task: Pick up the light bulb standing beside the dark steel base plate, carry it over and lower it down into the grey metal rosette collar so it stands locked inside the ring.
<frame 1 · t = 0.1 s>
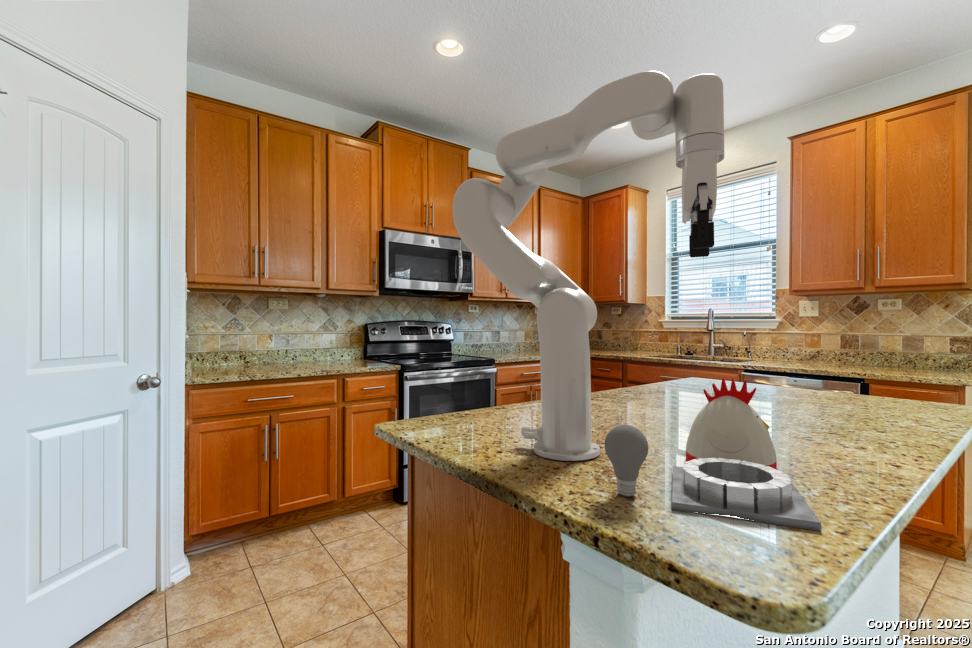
hand: (701, 252, 75), 37 cm above the countertop, tool pointing down, fingers open, 9 cm apart
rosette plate: (734, 496, 61), on the countertop
kitchen timer: (729, 464, 77), on the countertop
light bulb: (626, 496, 63), on the countertop
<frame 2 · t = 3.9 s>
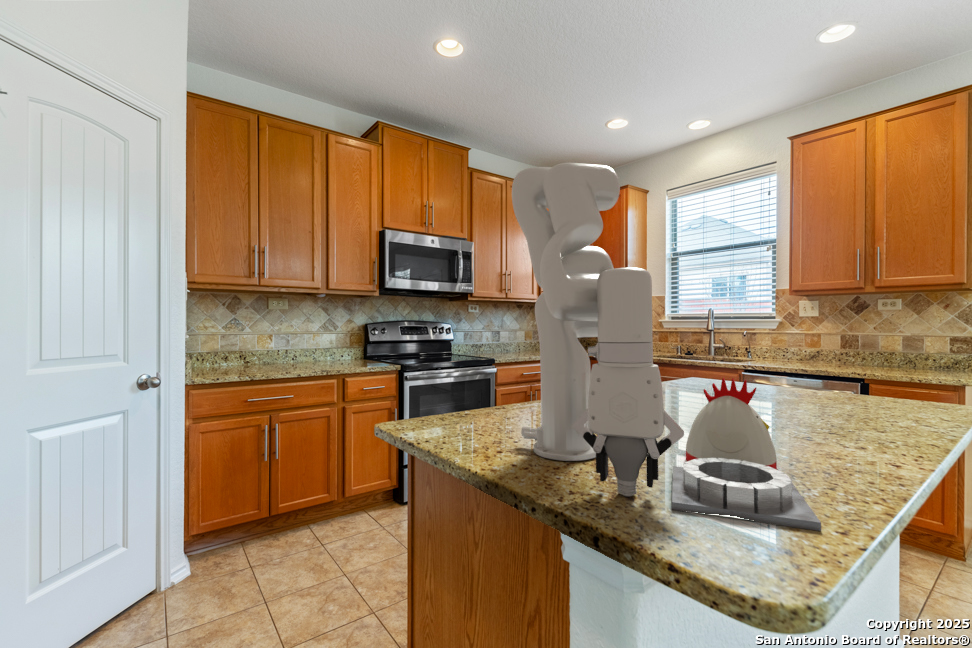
hand: (626, 480, 63), 2 cm above the countertop, tool pointing down, fingers closed on light bulb, 5 cm apart
light bulb: (626, 496, 62), on the countertop, touching gripper
everything else where it was.
when the fingers open (4 cm above the countertop, at t = 10.2 s): light bulb stays where it is, resting on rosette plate.
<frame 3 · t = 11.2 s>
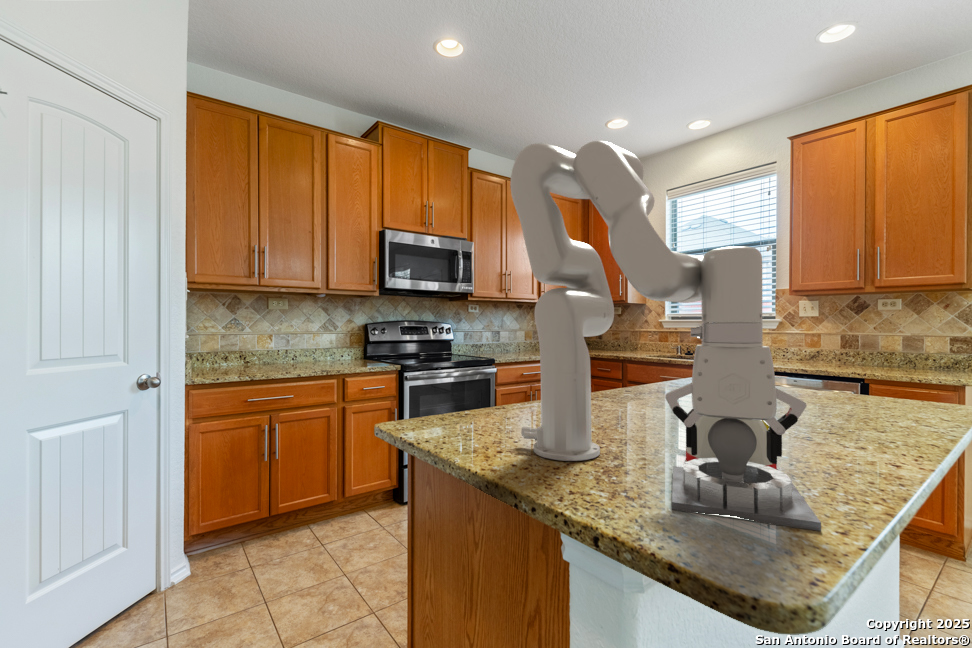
hand: (731, 456, 62), 6 cm above the countertop, tool pointing down, fingers open, 9 cm apart
light bulb: (732, 490, 62), point 1 cm above the countertop, touching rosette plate
everything else where it was.
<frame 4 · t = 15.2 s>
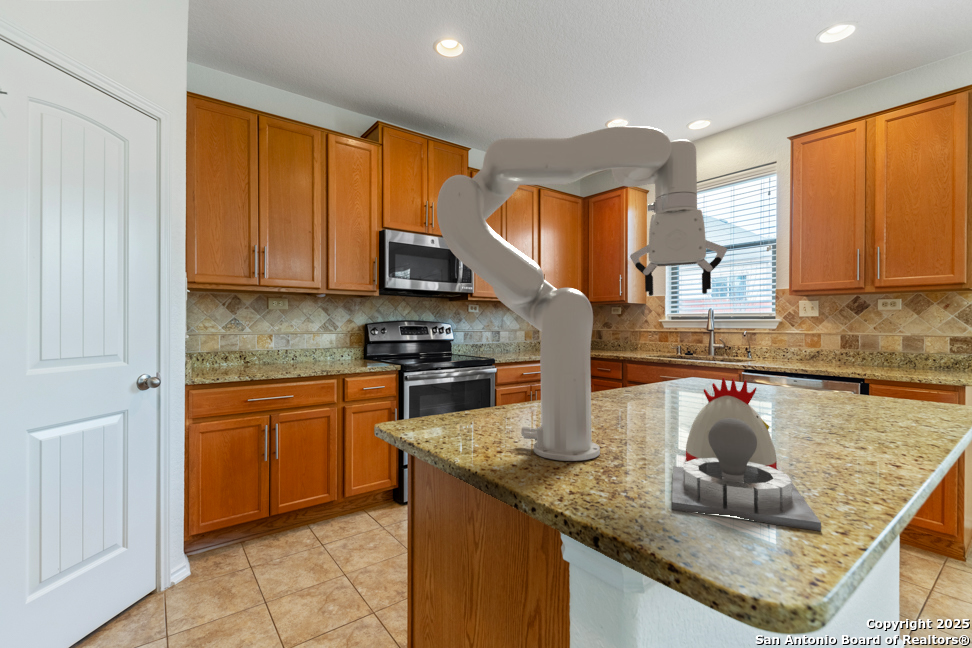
hand: (677, 294, 86), 30 cm above the countertop, tool pointing down, fingers open, 9 cm apart
nothing on the countertop moved.
at the end: light bulb 0.2 cm off-centre on the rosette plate, point 0.8 cm above the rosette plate's base; light bulb tilted 0°; the gripper is holding nothing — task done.
